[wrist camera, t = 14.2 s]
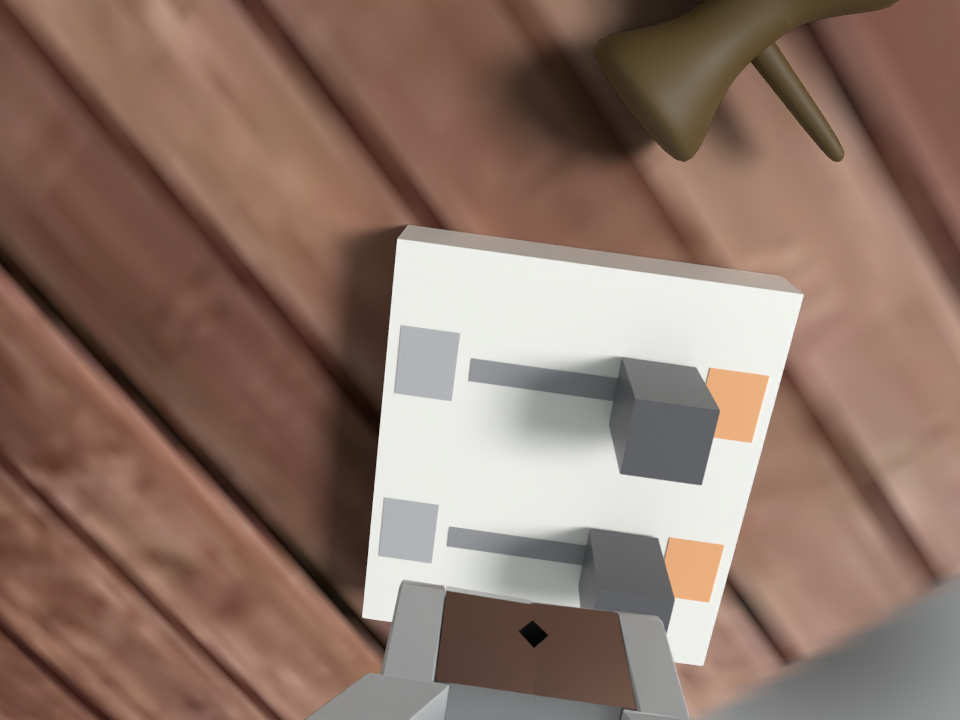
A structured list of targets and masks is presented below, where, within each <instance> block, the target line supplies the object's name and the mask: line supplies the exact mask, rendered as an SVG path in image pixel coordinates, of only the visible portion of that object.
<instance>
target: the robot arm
mask: <svg viewBox="0 0 960 720" xmlns="http://www.w3.org/2000/svg"><path fill="white" fill-rule="evenodd" d="M305 720H693V719H690V716H689V712H688V709H687V705H686V702H685V698H684V695H683V691H682V688H681V684H680V681H679V677H678V674H677V670H676V667H675V663H674V660H673V656H672V653H671V649H670V646H669V642H668V639H667V635H666V632H665V628H664V625H663V621H662V620H661V619H660V618H659V617H658V616H654V615H645V614H636V613H627V612H618V611H615V612H609V611H602V610H594V609H587V608H579V607H572V606H564V605H556V604H549V603H541V602H534V601H531V600H527V599H521V598H515V597H510V596H504V595H498V594H492V593H486V592H480V591H474V590H468V589H462V588H456V587H450V586H447V587H446V593H445V587H444V585H437V584H431V583H424V582H417V581H410V580H403V581H402V582H401V584H400V586H399V591H398V595H397V600H396V605H395V609H394V614H393V619H392V623H391V628H390V633H389V637H388V642H387V647H386V651H385V656H384V661H383V665H382V670H381V674H372V673H367V674H365V675H364V676H363V677H361V678H360V679H358V680H357V681H356V682H354V683H353V684H352V685H350V686H349V687H348V688H346V689H345V690H344V691H342V692H341V693H340V694H338V695H337V696H336V697H334V698H333V699H332V700H330V701H329V702H328V703H326V704H325V705H324V706H322V707H321V708H320V709H318V710H317V711H316V712H314V713H313V714H311V715H310V716H309V717H307V718H306V719H305Z"/></svg>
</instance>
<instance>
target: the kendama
mask: <svg viewBox="0 0 960 720" xmlns="http://www.w3.org/2000/svg"><path fill="white" fill-rule="evenodd" d="M897 1H899V0H701V2H702V3H701V4H700V5H698V6H697V7H695V8H693V9H692V10H690V11H689V12H687V13H685V14H683V15H681V16H679V17H677V18H675V19H673V20H669V21H666V22H663V23H659V24H656V25H652V26H647V27H643V28H638V29H634V30H629V31H624V32H620V33H617V34H613V35H609V36H607V37H605V38H603V39H601V40H600V41H599V42H598V43H597V45H596V46H595V52H596V58H597V60H598V62H599V65H600V67H601V69H602V71H603V73H604V74H605V76H606V78H607V79H608V81H609V82H610V84H611V85H612V87H613V89H614V90H615V92H616V93H617V94H618V96H619V97H620V98H621V100H622V101H623V103H624V104H625V105H626V107H627V108H628V109H629V111H630V112H631V113H632V114H633V116H634V117H635V118H636V119H637V121H638V122H639V123H640V124H641V125H642V127H643V128H644V129H645V130H646V131H647V133H648V134H649V135H650V136H651V137H652V138H653V139H654V140H655V141H656V142H657V143H658V144H659V145H660V147H661V148H662V149H663V150H664V151H666V152H667V153H668V154H669V155H671V156H672V157H673V158H675V159H676V160H680V161H683V162H685V161H687V160H689V159H691V158H692V157H693V156H694V155H695V153H696V152H697V151H698V149H699V148H700V146H701V144H702V142H703V140H704V138H705V135H706V133H707V131H708V129H709V126H710V124H711V122H712V120H713V117H714V115H715V113H716V111H717V109H718V106H719V104H720V102H721V100H722V99H723V97H724V95H725V93H726V91H727V89H728V88H729V86H730V85H731V84H732V82H733V81H734V79H735V78H736V77H737V75H738V74H739V73H740V72H741V71H742V70H743V69H744V68H745V67H746V66H747V65H748V64H749V63H750V62H751V63H752V64H753V65H754V67H755V68H756V69H757V70H758V72H759V73H760V74H761V75H762V77H763V78H764V79H765V80H766V82H767V83H768V84H769V86H770V87H771V88H772V89H773V91H774V92H775V93H776V94H777V96H778V97H779V98H780V99H781V101H782V102H783V103H784V104H785V106H786V107H787V108H788V110H789V111H790V112H791V113H792V115H793V116H794V117H795V118H796V120H797V121H798V122H799V123H800V125H801V126H802V127H803V128H804V130H805V131H806V132H807V133H808V135H809V136H810V137H811V138H812V139H813V141H814V142H815V143H816V144H817V145H818V147H819V148H820V149H821V150H822V151H823V152H824V153H825V154H826V155H827V156H828V157H829V158H830V159H831V160H832V161H835V162H839V161H841V160H842V159H843V158H844V151H843V148H842V146H841V144H840V142H839V140H838V138H837V137H836V135H835V133H834V132H833V130H832V129H831V127H830V125H829V124H828V122H827V121H826V119H825V117H824V116H823V114H822V113H821V111H820V110H819V108H818V107H817V105H816V104H815V102H814V101H813V99H812V98H811V96H810V95H809V93H808V92H807V90H806V89H805V87H804V86H803V84H802V83H801V81H800V80H799V78H798V77H797V75H796V74H795V72H794V71H793V69H792V68H791V66H790V64H789V63H788V61H787V60H786V58H785V57H784V55H783V54H782V52H781V51H780V49H779V48H778V46H777V45H776V43H775V41H776V40H777V39H779V38H780V37H782V36H783V35H784V34H786V33H788V32H789V31H791V30H793V29H794V28H796V27H798V26H801V25H803V24H806V23H808V22H811V21H815V20H820V19H824V18H829V17H836V16H842V15H849V14H856V13H864V12H870V11H875V10H880V9H884V8H887V7H890V6H892V5H893V4H894V3H896V2H897Z"/></svg>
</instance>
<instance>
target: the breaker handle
mask: <svg viewBox="0 0 960 720" xmlns="http://www.w3.org/2000/svg"><path fill="white" fill-rule="evenodd" d="M719 414H720V409H719V407H718V406H717V404H716V402H715V400H714V398H713V397H712V395H711V393H710V391H709V389H708V388H707V386H706V384H705V382H704V380H703V379H702V377H701V375H700V373H699V371H698V370H697V368H696V367H690V366H683V365H676V364H669V363H661V362H654V361H647V360H640V359H632V358H625V357H622V361H621V366H620V371H619V376H618V381H617V386H616V391H615V396H614V401H613V406H612V411H611V416H610V421H609V428H610V432H611V436H612V441H613V445H614V450H615V454H616V459H617V463H618V468H619V472H620V474H623V475H630V476H637V477H644V478H651V479H658V480H666V481H673V482H680V483H687V484H694V485H702V482H703V478H704V474H705V470H706V466H707V462H708V458H709V454H710V450H711V446H712V442H713V438H714V434H715V430H716V426H717V422H718V418H719Z"/></svg>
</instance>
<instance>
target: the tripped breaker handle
mask: <svg viewBox="0 0 960 720" xmlns="http://www.w3.org/2000/svg"><path fill="white" fill-rule="evenodd" d="M578 588H579V599H580V608H587V609H594V610H602V611H609V612H615V611H618V612H627V613H636V614H645V615H654V616H658V617H659V618H660V619H661V620H662V621H663V625H664V628H665V632H666V634H667V630H668V626H669V622H670V618H671V614H672V610H673V606H674V602H675V598H674V594H673V591H672V587H671V583H670V580H669V576H668V572H667V569H666V565H665V561H664V558H663V554H662V551H661V547H660V543H659V540H658V538H654V537H647V536H640V535H632V534H625V533H618V532H611V531H604V530H597V529H590V530H589V535H588V540H587V545H586V550H585V555H584V560H583V565H582V570H581V575H580V580H579V585H578Z"/></svg>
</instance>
